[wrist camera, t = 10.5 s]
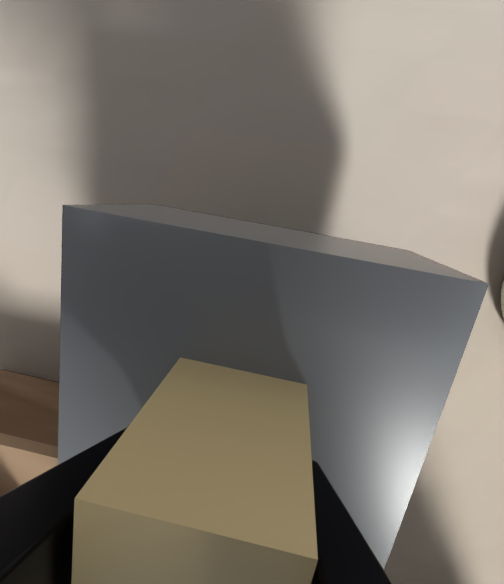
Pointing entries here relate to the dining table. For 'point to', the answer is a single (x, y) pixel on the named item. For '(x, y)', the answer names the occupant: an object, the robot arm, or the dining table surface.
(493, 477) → the dining table surface
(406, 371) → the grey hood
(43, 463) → the hood walnut
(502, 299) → the bread roll
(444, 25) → the dining table surface
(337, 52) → the dining table surface
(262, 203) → the dining table surface
